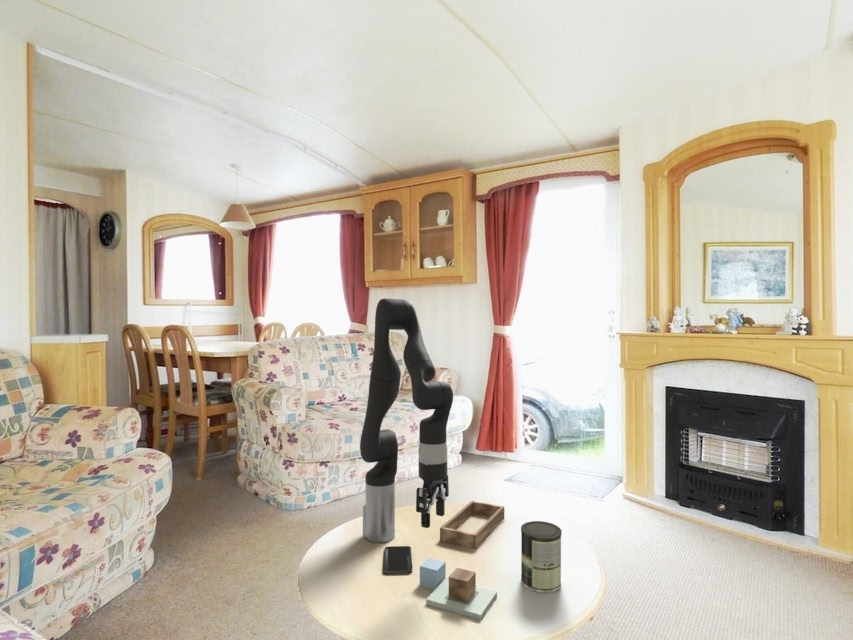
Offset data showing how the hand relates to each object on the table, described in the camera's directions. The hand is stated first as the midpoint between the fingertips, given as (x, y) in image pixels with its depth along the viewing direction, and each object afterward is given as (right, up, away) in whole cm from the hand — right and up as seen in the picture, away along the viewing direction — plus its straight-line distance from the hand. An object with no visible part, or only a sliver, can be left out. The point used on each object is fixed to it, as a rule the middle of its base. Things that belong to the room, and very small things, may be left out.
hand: (433, 521), depth 131 cm
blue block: (0, -16, 0) cm, 16 cm away
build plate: (+7, -16, -8) cm, 19 cm away
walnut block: (+7, -15, -8) cm, 18 cm away
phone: (-10, -16, +12) cm, 23 cm away
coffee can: (+28, -16, 0) cm, 33 cm away
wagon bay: (+14, -16, +33) cm, 39 cm away
